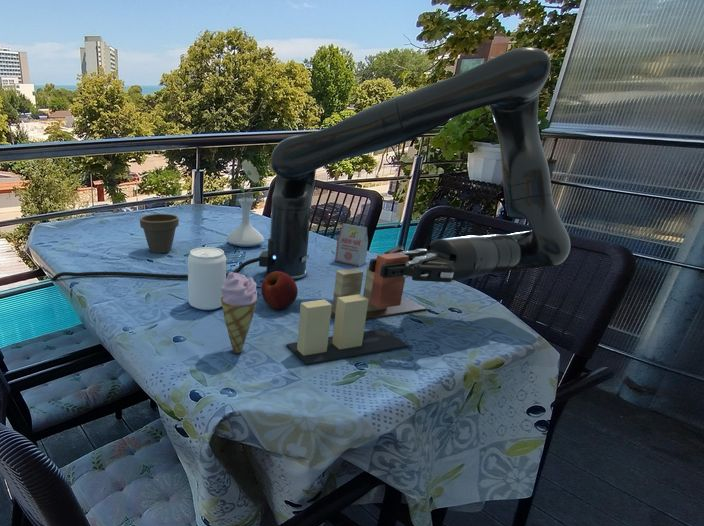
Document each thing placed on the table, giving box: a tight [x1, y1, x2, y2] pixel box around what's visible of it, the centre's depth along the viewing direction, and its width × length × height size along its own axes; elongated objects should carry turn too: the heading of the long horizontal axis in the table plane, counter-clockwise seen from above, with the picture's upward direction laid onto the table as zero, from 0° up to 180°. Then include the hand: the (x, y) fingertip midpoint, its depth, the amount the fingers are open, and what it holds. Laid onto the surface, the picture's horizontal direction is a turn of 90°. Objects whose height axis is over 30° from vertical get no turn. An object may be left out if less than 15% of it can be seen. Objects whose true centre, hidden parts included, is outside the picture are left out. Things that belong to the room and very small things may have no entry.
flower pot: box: [139, 213, 180, 254], centre depth 138 cm, size 12×11×10 cm
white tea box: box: [334, 223, 369, 267], centre depth 123 cm, size 4×7×10 cm, turn 44°
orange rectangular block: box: [370, 252, 409, 308], centre depth 80 cm, size 4×2×9 cm, turn 105°
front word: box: [286, 293, 409, 366], centre depth 81 cm, size 20×7×9 cm, turn 105°
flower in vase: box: [226, 159, 265, 248], centre depth 139 cm, size 13×11×25 cm
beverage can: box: [187, 246, 227, 311], centre depth 100 cm, size 8×8×12 cm
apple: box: [260, 271, 298, 310], centre depth 98 cm, size 7×8×8 cm
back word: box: [331, 266, 428, 320], centre depth 95 cm, size 20×7×9 cm, turn 105°
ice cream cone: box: [221, 271, 258, 354], centre depth 80 cm, size 7×6×15 cm
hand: (376, 268), depth 78 cm, fingers closed on orange rectangular block, 2 cm apart
